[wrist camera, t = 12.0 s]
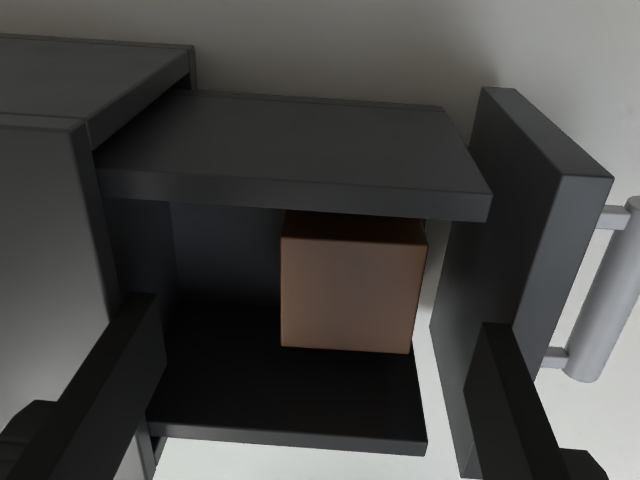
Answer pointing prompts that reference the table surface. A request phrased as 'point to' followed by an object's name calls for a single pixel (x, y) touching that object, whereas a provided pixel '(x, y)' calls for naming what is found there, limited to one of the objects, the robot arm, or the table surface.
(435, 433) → the table surface
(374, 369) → the drawer
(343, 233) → the block
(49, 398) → the cabinet
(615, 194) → the table surface
